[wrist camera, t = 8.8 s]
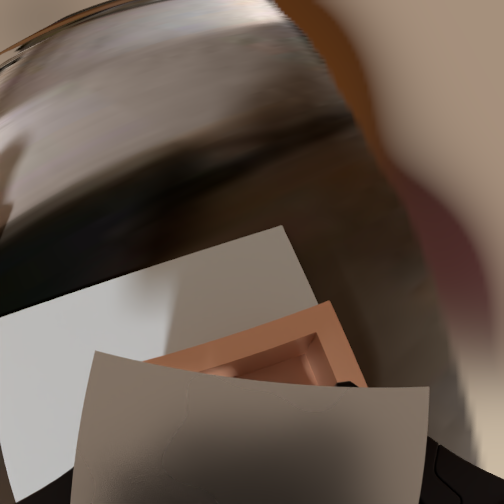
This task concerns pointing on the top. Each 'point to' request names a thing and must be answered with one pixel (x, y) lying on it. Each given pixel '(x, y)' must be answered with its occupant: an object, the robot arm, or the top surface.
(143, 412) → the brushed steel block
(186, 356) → the holder
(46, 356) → the bench mat
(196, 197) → the top surface
